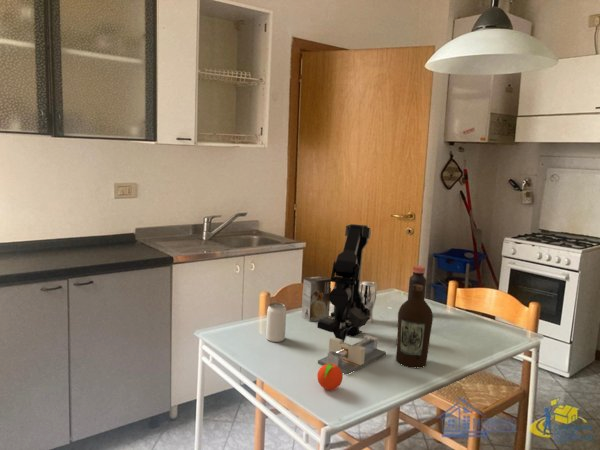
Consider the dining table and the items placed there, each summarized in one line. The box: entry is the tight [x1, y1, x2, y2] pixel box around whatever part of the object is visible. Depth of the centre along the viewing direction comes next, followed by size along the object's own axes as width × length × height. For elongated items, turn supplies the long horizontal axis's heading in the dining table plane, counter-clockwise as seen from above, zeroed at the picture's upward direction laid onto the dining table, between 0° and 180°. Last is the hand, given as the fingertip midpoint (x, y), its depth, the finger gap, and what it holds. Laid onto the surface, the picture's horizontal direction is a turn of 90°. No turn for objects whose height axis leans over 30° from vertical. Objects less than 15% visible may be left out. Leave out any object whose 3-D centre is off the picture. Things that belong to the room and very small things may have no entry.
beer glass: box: [359, 280, 378, 324], centre depth 193 cm, size 7×7×15 cm
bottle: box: [407, 265, 427, 301], centre depth 205 cm, size 7×7×20 cm
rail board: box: [317, 343, 387, 375], centre depth 156 cm, size 22×11×1 cm, turn 140°
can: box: [265, 302, 287, 343], centre depth 169 cm, size 6×6×12 cm
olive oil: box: [395, 284, 434, 369], centre depth 155 cm, size 11×11×25 cm
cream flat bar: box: [328, 336, 365, 365], centre depth 153 cm, size 2×12×5 cm, turn 50°
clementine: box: [316, 363, 343, 391], centre depth 135 cm, size 8×7×7 cm
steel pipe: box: [326, 335, 379, 367], centre depth 156 cm, size 22×4×4 cm, turn 140°
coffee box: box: [301, 275, 332, 322], centre depth 193 cm, size 9×6×16 cm
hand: (340, 345), depth 157 cm, fingers closed
